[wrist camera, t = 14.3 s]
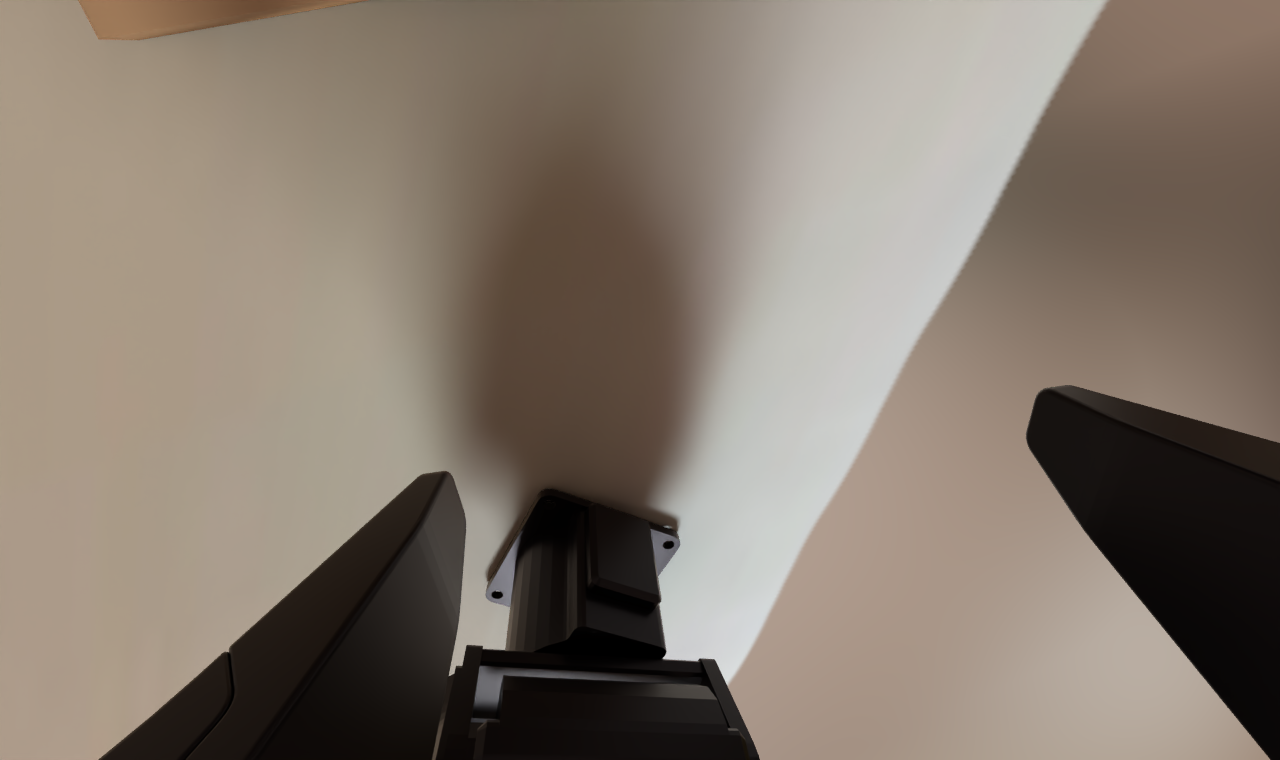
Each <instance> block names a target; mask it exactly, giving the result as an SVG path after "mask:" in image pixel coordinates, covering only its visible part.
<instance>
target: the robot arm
mask: <svg viewBox="0 0 1280 760" xmlns="http://www.w3.org/2000/svg"><path fill="white" fill-rule="evenodd" d="M1026 439H1027V444H1028V447H1029V449H1030V450H1031V452H1032V453H1033V455H1034V457H1035V458H1036V460H1037V461H1038V463H1039V464H1040V466H1041V467H1042V469H1043V470H1044V472H1045V473H1046V475H1047V476H1048V478H1049V479H1050V480H1051V482H1052V484H1053V485H1054V487H1055V488H1056V490H1057V491H1058V493H1059V494H1060V496H1061V497H1062V499H1063V500H1064V502H1065V503H1066V505H1067V506H1068V508H1069V509H1070V511H1071V512H1072V514H1073V515H1074V517H1075V518H1076V520H1077V521H1078V522H1079V524H1080V525H1081V527H1082V528H1083V530H1084V531H1085V532H1086V533H1087V535H1088V536H1089V537H1090V539H1091V540H1092V541H1093V542H1094V544H1095V545H1096V546H1097V547H1098V549H1099V550H1100V551H1101V552H1102V554H1103V555H1104V556H1105V557H1106V559H1107V560H1108V561H1109V562H1110V563H1111V565H1112V566H1113V567H1114V568H1115V570H1116V571H1117V572H1118V573H1119V575H1120V576H1121V577H1122V578H1123V579H1124V581H1125V582H1126V583H1127V584H1128V586H1129V587H1130V588H1131V589H1132V590H1133V592H1134V593H1135V594H1136V595H1137V597H1138V598H1139V599H1140V600H1141V601H1142V603H1143V604H1144V605H1145V606H1146V608H1147V609H1148V610H1149V611H1150V613H1151V614H1152V615H1153V616H1154V617H1155V619H1156V620H1157V621H1158V622H1159V624H1160V625H1161V626H1162V627H1163V628H1164V630H1165V631H1166V632H1167V633H1168V635H1169V636H1170V637H1171V638H1172V640H1173V641H1174V642H1175V643H1176V644H1177V646H1178V647H1179V648H1180V649H1181V651H1182V652H1183V653H1184V654H1185V655H1186V656H1187V658H1188V659H1189V660H1190V662H1191V663H1192V664H1193V665H1194V666H1195V668H1196V669H1197V670H1198V671H1199V673H1200V674H1201V675H1202V676H1203V677H1204V679H1205V680H1206V681H1207V682H1208V684H1209V685H1210V686H1211V687H1212V689H1213V690H1214V691H1215V692H1216V693H1217V694H1218V696H1219V697H1220V698H1221V699H1222V701H1223V702H1224V703H1225V704H1226V706H1227V707H1228V708H1229V709H1230V711H1231V712H1232V713H1233V714H1234V716H1235V717H1236V718H1237V719H1238V720H1239V722H1240V723H1241V724H1242V725H1243V727H1244V728H1245V729H1246V730H1247V731H1248V733H1249V734H1250V735H1251V736H1252V738H1253V739H1254V740H1255V741H1256V743H1257V744H1258V745H1259V746H1260V747H1261V749H1262V750H1263V751H1264V752H1265V754H1266V755H1267V756H1268V757H1269V758H1270V760H1280V443H1277V442H1274V441H1270V440H1267V439H1263V438H1260V437H1256V436H1252V435H1249V434H1245V433H1242V432H1238V431H1234V430H1231V429H1227V428H1223V427H1220V426H1216V425H1213V424H1209V423H1206V422H1202V421H1198V420H1195V419H1191V418H1187V417H1184V416H1180V415H1177V414H1173V413H1169V412H1166V411H1162V410H1159V409H1155V408H1152V407H1148V406H1144V405H1141V404H1137V403H1133V402H1130V401H1126V400H1123V399H1119V398H1115V397H1111V396H1108V395H1105V394H1101V393H1097V392H1093V391H1090V390H1087V389H1083V388H1079V387H1075V386H1071V385H1065V386H1058V387H1050V388H1045V389H1043V390H1041V391H1040V392H1039V393H1038V394H1037V396H1036V398H1035V402H1034V405H1033V409H1032V413H1031V416H1030V420H1029V424H1028V428H1027V432H1026ZM547 500H552V501H554V502H553V503H546V502H545V501H547ZM465 536H466V518H465V513H464V509H463V506H462V503H461V500H460V497H459V494H458V491H457V488H456V485H455V482H454V479H453V477H452V475H451V474H450V473H449V472H447V471H441V472H434V473H426V474H422V475H420V476H419V477H417V478H416V479H415V480H414V481H413V482H412V483H411V484H410V485H409V486H407V487H406V488H405V489H404V490H403V491H402V492H401V493H400V494H399V495H397V496H396V497H395V498H394V499H393V500H392V501H391V502H390V503H389V504H387V505H386V506H385V507H384V508H383V509H382V510H381V511H380V512H379V513H378V514H376V515H375V516H374V517H373V518H372V519H371V520H370V521H369V522H368V523H366V524H365V525H364V526H363V527H362V528H361V529H360V530H359V531H358V532H356V533H355V534H354V535H353V536H352V537H351V538H350V539H349V540H348V541H347V542H345V543H344V544H343V545H342V546H341V547H340V548H339V549H338V550H337V551H335V552H334V553H333V554H332V555H331V556H330V557H329V558H328V559H327V560H325V561H324V562H323V563H322V564H321V565H320V566H319V567H318V568H317V569H315V570H314V571H313V572H312V573H311V574H310V575H309V576H308V577H307V578H306V579H304V580H303V581H302V582H301V583H300V584H299V585H298V586H297V587H296V588H294V589H293V590H292V591H291V592H290V593H289V594H288V595H287V596H286V597H284V598H283V599H282V600H281V601H280V602H279V603H278V604H277V605H276V606H274V607H273V608H272V609H271V610H270V611H269V612H268V613H267V614H266V615H264V616H263V617H262V618H261V619H260V620H259V621H258V622H257V623H256V624H254V625H253V626H252V627H251V628H250V629H249V630H248V631H247V632H246V633H245V634H243V635H242V636H241V637H240V638H239V639H238V640H237V641H236V642H235V643H233V644H232V645H231V646H230V648H229V652H224V653H222V654H221V655H220V656H219V657H218V658H217V659H215V660H214V661H213V662H212V663H211V664H210V665H209V666H208V667H207V668H206V669H204V670H203V671H202V672H201V673H200V674H199V675H198V676H197V677H196V678H194V679H193V680H192V681H191V682H190V683H189V684H188V685H186V686H185V687H184V688H183V689H182V690H181V691H179V692H178V693H177V694H176V695H175V696H174V697H173V698H171V699H170V700H169V701H168V702H167V703H166V704H165V705H163V706H162V707H161V708H160V709H159V710H158V711H157V712H155V713H154V714H153V715H152V716H151V717H150V718H148V719H147V720H146V721H145V722H144V723H142V724H141V725H140V726H139V727H138V728H136V729H135V730H134V731H133V732H131V733H130V734H129V735H128V736H127V737H125V738H124V739H123V740H122V741H121V742H119V743H118V744H117V745H116V746H115V747H113V748H112V749H111V750H110V751H108V752H107V753H106V754H105V755H104V756H102V757H101V758H100V759H99V760H760V759H759V755H758V753H757V750H756V747H755V745H754V742H753V740H752V738H751V736H750V734H749V732H748V730H747V727H746V725H745V723H744V721H743V719H742V717H741V715H740V712H739V710H738V708H737V706H736V704H735V702H734V700H733V697H732V695H731V693H730V691H729V689H728V687H727V684H726V682H725V680H724V678H723V676H722V674H721V672H720V669H719V667H718V665H717V663H716V661H715V659H699V660H698V661H686V660H668V659H662V658H663V657H664V656H665V655H666V645H665V639H664V632H663V625H662V619H661V612H660V606H659V604H660V602H661V593H660V587H659V580H658V576H659V574H660V573H661V572H662V570H663V569H664V568H665V566H666V565H667V563H668V562H669V561H670V559H671V558H672V557H673V555H674V554H675V552H676V551H677V550H678V548H679V546H680V541H679V536H678V534H677V532H675V531H673V530H671V529H668V528H665V527H662V526H659V525H656V524H653V523H651V522H648V521H646V520H643V519H640V518H637V517H634V516H631V515H629V514H626V513H623V512H620V511H617V510H614V509H611V508H608V507H605V506H602V505H600V504H596V503H593V502H590V501H587V500H584V499H581V498H578V497H575V496H572V495H570V494H567V493H564V492H561V491H558V490H555V489H545V490H543V491H541V492H540V493H539V494H538V496H537V498H536V500H535V501H534V503H533V505H532V507H531V508H530V510H529V512H528V514H527V516H526V517H525V519H524V521H523V523H522V524H521V526H520V528H519V530H518V531H517V533H516V535H515V537H514V539H513V540H512V542H511V544H510V546H509V547H508V549H507V551H506V553H505V554H504V556H503V558H502V560H501V562H500V563H499V565H498V567H497V569H496V570H495V572H494V574H493V576H492V577H491V579H490V581H489V583H488V585H487V589H486V598H487V599H488V600H489V601H491V602H494V603H498V604H501V605H505V606H508V607H510V614H509V622H508V631H507V639H506V648H505V650H493V649H483V646H475V645H467V646H466V651H465V656H464V661H463V666H456V669H455V674H453V675H451V676H449V671H450V666H451V661H452V656H453V650H454V645H455V640H456V635H457V629H458V623H459V614H460V603H461V590H462V576H463V563H464V549H465ZM668 540H669V541H671V542H668V543H666V542H665V541H668ZM497 591H500V592H497ZM448 676H449V677H448Z"/></svg>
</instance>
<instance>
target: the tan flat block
mask: <svg viewBox="0 0 1280 760" xmlns="http://www.w3.org/2000/svg"><path fill="white" fill-rule="evenodd" d="M78 1H79V3H80V5H81V7H82V8H83V10H84V12H85V14H86V16H87V18H88V20H89V22H90V24H91V26H92V28H93V29H94V31H95V33H96V35H97V37H98V39H106V40H142V39H148V38H154V37H159V36H165V35H171V34H177V33H183V32H188V31H194V30H200V29H206V28H211V27H217V26H223V25H229V24H234V23H240V22H246V21H252V20H258V19H263V18H269V17H275V16H281V15H286V14H292V13H298V12H304V11H310V10H315V9H321V8H327V7H333V6H338V5H344V4H350V3H356V2H362V1H367V0H78Z"/></svg>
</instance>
